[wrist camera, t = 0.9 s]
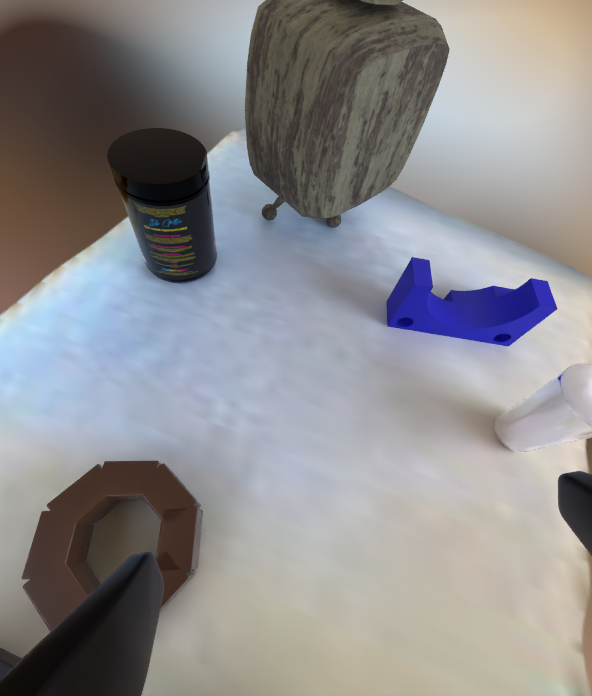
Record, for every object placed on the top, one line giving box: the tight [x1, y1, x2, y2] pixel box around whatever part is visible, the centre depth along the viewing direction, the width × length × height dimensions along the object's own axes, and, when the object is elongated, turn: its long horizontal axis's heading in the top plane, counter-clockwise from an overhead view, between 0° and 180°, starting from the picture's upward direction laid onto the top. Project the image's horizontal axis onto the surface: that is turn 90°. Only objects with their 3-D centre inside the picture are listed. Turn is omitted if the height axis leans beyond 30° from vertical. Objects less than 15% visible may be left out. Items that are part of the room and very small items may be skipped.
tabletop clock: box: [245, 0, 449, 227], centre depth 28 cm, size 14×9×25 cm, turn 132°
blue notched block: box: [387, 257, 557, 346], centre depth 31 cm, size 12×4×6 cm, turn 84°
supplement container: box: [107, 128, 217, 283], centre depth 29 cm, size 7×7×10 cm
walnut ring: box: [22, 461, 203, 631], centre depth 20 cm, size 9×9×3 cm
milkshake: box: [495, 364, 592, 452], centre depth 24 cm, size 4×5×10 cm
